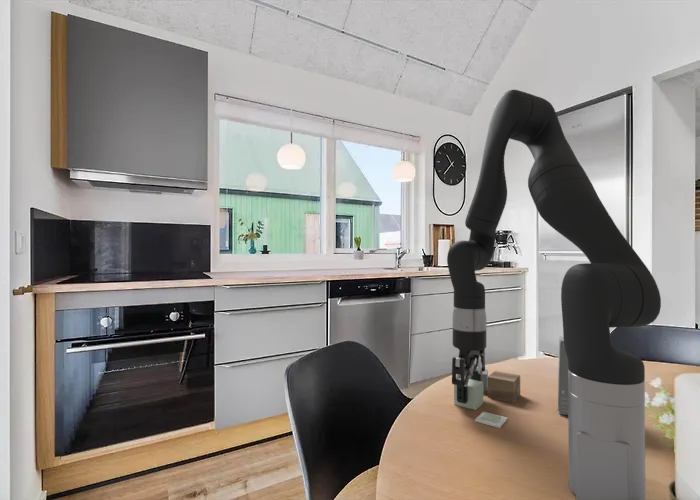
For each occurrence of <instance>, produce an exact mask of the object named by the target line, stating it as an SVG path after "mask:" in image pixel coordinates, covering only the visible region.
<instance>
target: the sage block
mask: <svg viewBox="0 0 700 500" xmlns="http://www.w3.org/2000/svg"><path fill="white" fill-rule="evenodd" d="M460 380H461V378H460ZM453 385H454V384H453ZM467 386H468V402H467V403H465V404H464V403H460V402H458V401H457V385H454V386H453V390H454V392H453V393H454V394H453V396H454V399H453V405H455V406H459V407H462V408H467V409H470V410H475V411H476V410H478V409H479V408H480V407H481V406H482V405H483V404H484V391H483V382H482V381H477V380H472V379H469V381H468V385H467Z"/></svg>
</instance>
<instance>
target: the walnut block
mask: <svg viewBox="0 0 700 500" xmlns="http://www.w3.org/2000/svg"><path fill="white" fill-rule="evenodd" d="M520 396H521V375H520V374H515V373H511V372H510V373H509V372H505V371H499V370H494V371H493V372H492V373H491V374H488V389H487V398H491V399H496V400H500V401H504V402H507V403H515V402H516V401H517V400H518V399H519V398H520Z"/></svg>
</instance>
